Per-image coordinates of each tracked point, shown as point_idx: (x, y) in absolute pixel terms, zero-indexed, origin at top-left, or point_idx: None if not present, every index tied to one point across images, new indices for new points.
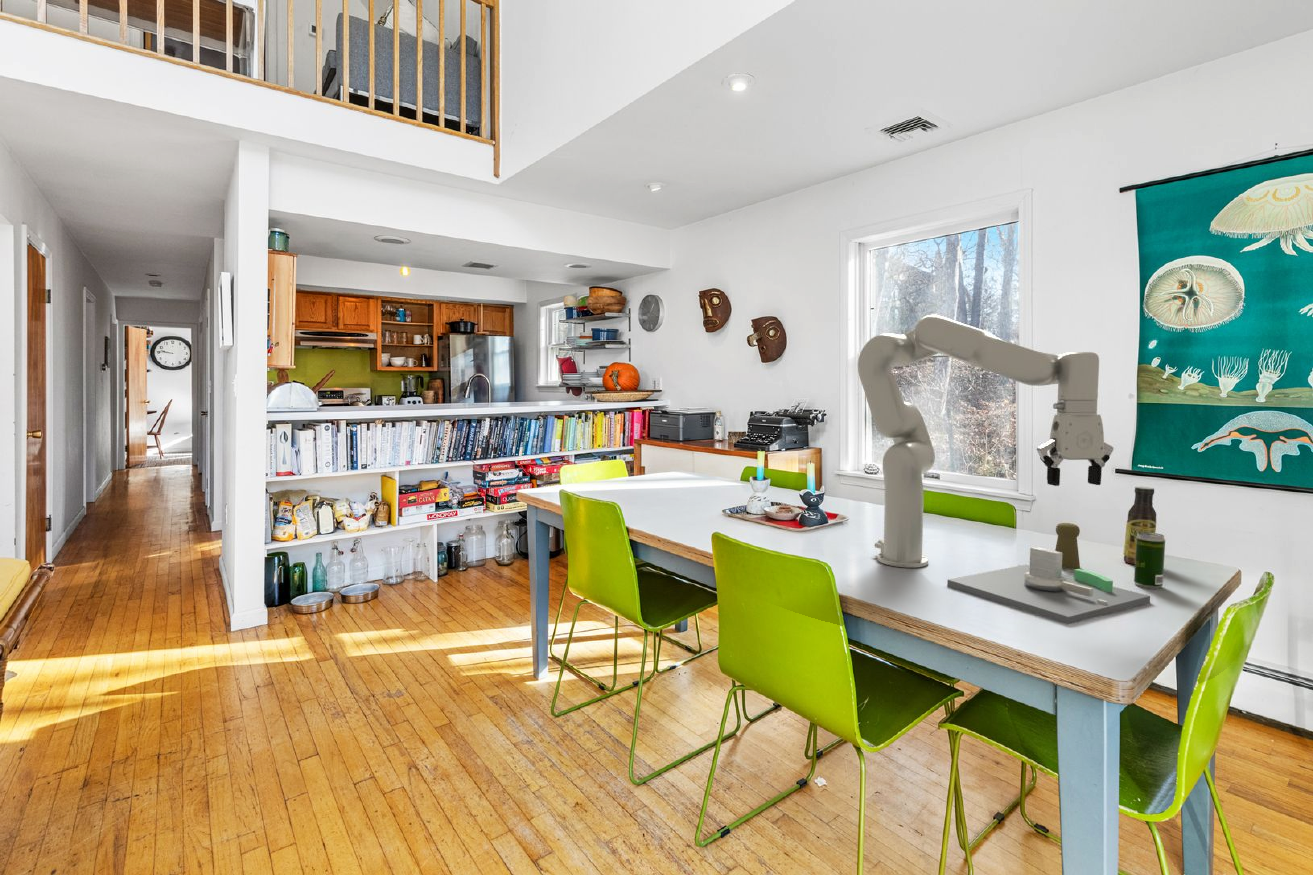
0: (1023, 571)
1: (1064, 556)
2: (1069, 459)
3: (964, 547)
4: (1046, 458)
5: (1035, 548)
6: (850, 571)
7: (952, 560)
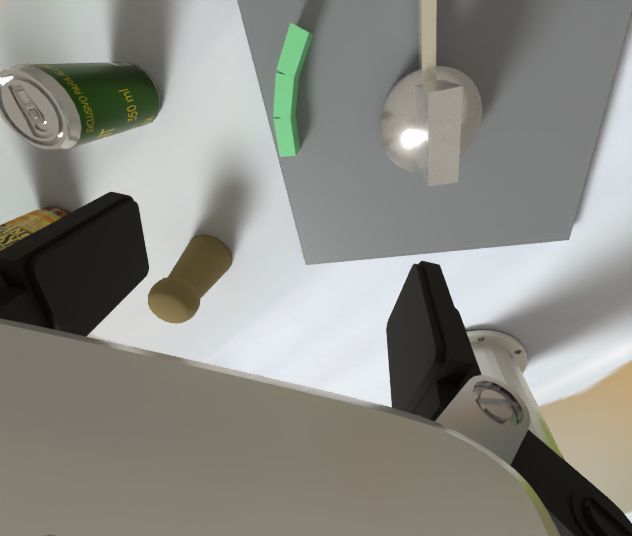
0: (353, 232)
1: (214, 259)
2: (398, 411)
3: (298, 375)
4: (628, 526)
5: (453, 169)
6: (625, 352)
7: (382, 338)
